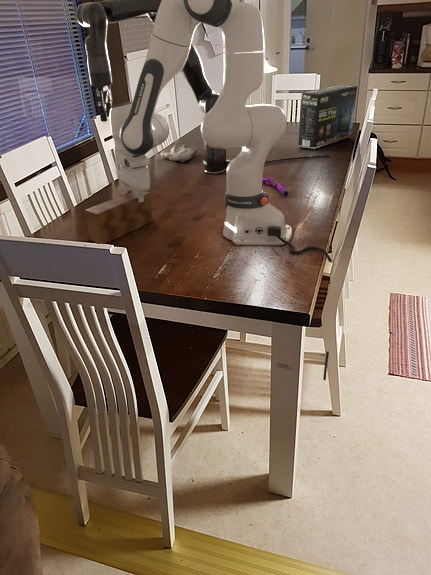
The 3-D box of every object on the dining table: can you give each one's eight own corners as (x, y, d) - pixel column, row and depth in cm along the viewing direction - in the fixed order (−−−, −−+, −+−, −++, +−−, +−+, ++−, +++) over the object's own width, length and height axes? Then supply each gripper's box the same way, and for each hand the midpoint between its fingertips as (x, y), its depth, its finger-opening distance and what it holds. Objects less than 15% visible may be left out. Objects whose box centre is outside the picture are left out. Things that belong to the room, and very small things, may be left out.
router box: (314, 151, 231) (318, 94, 217) (296, 148, 237) (299, 92, 224) (352, 138, 251) (358, 85, 238) (335, 135, 258) (340, 83, 245)
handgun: (255, 182, 193) (255, 177, 192) (273, 180, 195) (273, 175, 194) (269, 198, 176) (269, 193, 175) (289, 195, 177) (289, 191, 176)
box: (141, 217, 164) (137, 189, 158) (152, 221, 161) (149, 192, 155) (90, 240, 149) (84, 209, 143) (101, 245, 146) (96, 214, 140)
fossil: (184, 156, 217) (163, 136, 220) (174, 174, 223) (154, 154, 227) (205, 153, 231) (186, 134, 234) (195, 171, 237) (176, 152, 240)
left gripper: (94, 68, 165) (101, 115, 174) (83, 72, 153) (91, 123, 162) (114, 67, 165) (121, 114, 173) (105, 72, 153) (113, 122, 161)
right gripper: (108, 153, 154) (115, 193, 160) (132, 164, 138) (138, 208, 145) (126, 149, 156) (132, 189, 163) (151, 160, 141) (156, 203, 148)
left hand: (107, 118), depth 168 cm, fingers open, 8 cm apart
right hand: (135, 198), depth 154 cm, fingers open, 8 cm apart
